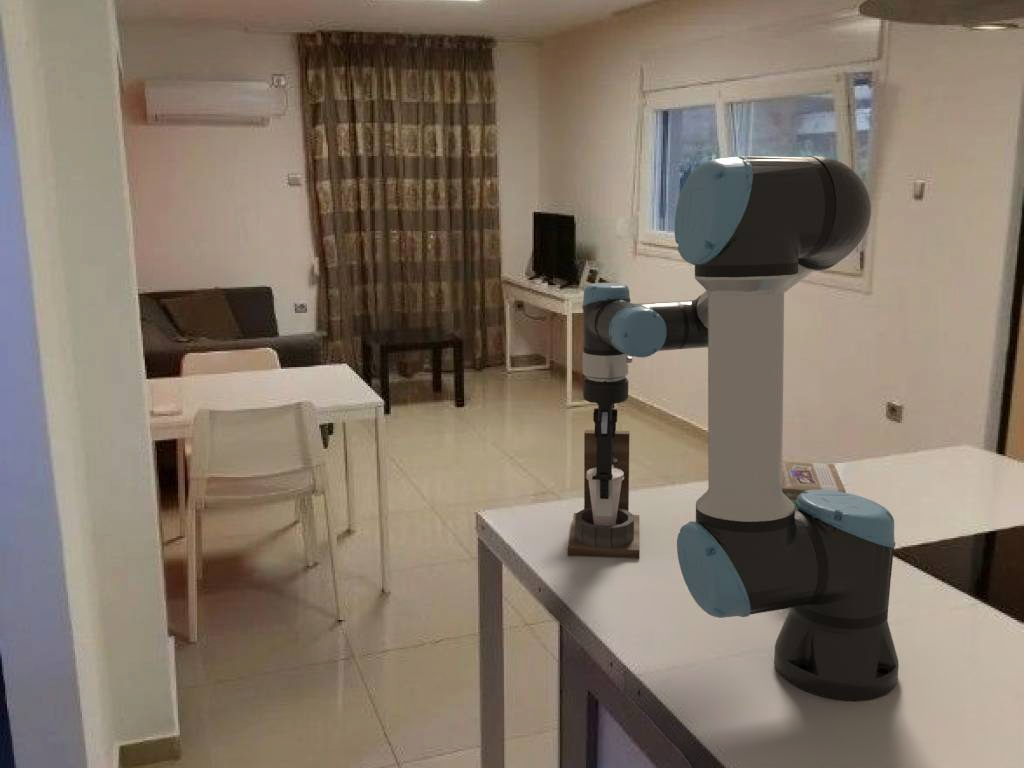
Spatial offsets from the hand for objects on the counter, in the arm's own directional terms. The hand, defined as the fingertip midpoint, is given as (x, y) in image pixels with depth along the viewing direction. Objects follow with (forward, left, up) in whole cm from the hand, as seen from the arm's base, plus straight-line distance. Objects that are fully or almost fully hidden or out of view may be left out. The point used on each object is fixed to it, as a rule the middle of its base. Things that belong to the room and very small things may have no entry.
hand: (604, 507), depth 159 cm
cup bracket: (+3, 0, -7) cm, 7 cm away
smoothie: (0, 0, -4) cm, 4 cm away
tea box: (-3, -33, -7) cm, 34 cm away
